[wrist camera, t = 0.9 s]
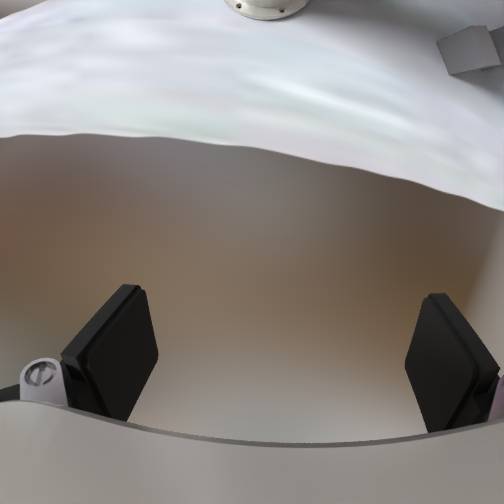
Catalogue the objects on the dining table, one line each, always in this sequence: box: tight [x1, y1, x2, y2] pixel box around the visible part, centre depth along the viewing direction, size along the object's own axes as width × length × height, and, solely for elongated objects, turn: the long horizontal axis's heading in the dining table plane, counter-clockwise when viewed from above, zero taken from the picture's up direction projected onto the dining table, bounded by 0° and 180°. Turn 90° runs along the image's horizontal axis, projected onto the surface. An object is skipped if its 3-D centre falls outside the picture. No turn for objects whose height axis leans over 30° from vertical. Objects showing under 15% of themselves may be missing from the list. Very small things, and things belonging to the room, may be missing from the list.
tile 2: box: [481, 27, 504, 70], centre depth 24 cm, size 3×5×10 cm, turn 21°
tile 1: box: [437, 26, 501, 75], centre depth 26 cm, size 3×5×10 cm, turn 21°
